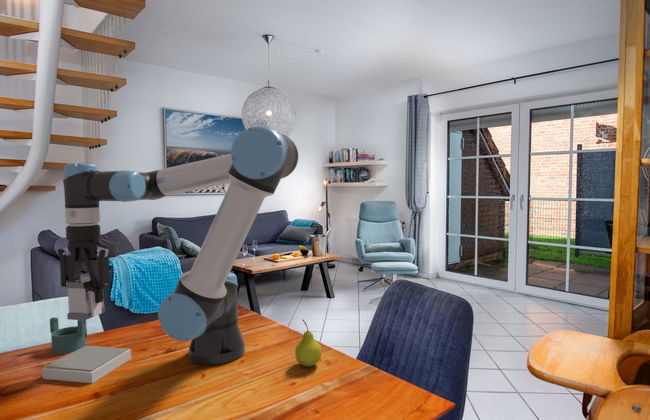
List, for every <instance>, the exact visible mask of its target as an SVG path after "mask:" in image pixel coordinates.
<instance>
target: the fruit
mask: <svg viewBox="0 0 650 420" xmlns="http://www.w3.org/2000/svg"><path fill="white" fill-rule="evenodd" d="M302 322H303V323H304V325H305V327H306V329H307V330H306V331H305V332H304V333H303V336H302V339H301V340H299V342H298V343H297V344H296V347H295V351H294V355H295V359H296V361H297V362H298V363H299V364H300V365H301V366H302V367H304V368H310V367H313V366H315V365H317V364H318V363H319V361H320V360H321V358H322V354H323V353H322V352H323V349H322V346H321V344H320V343H319V342H317V341H316V340H315V337H314V334H313V333H312V331H309V328H308V324H307V323H306V321H305V319H302Z"/></svg>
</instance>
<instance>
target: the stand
mask: <svg viewBox="0 0 650 420" xmlns="http://www.w3.org/2000/svg"><path fill="white" fill-rule="evenodd" d="M131 352H132V349H131V348H125V347H124V348H123V347H112V346H111V347H109V346H100V345H99V346H96V345H86V346H84V347H82V348H80V349H78V350H76V351H74V352H72V353H67V354H66V355H65V356H63V357H61V358H59V359H57V360H54V361H53V362H51V363H49V364H46V365H45V366H44V367H42V368H41V371H42V372H41V373H42V375H41V376H42V379H43V380H44V379H45V380H53V381H61V382H62V381H63V382H71V383H72V382H74V383H84V384H85V383H86V384H94V383H95V382H97V381H99V380H100V379H101V378H103V377H105V376H107V375H108V374H109V373H111V372H112V371H114V370H116V369H117V368H119V367H120V366H122V365H124V364H125V363H127V362H129V360H131V359H132V353H131Z"/></svg>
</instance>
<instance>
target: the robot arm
mask: <svg viewBox="0 0 650 420" xmlns="http://www.w3.org/2000/svg"><path fill="white" fill-rule="evenodd" d="M298 163H299V151H298V148H297V145H296V144H295V142H294V141H293V140H292V139H291V138H290V137H288V136H287V135H285V134H284V133H283V134H282V133H281V132H279V131H278V130H276V129H274V128H270V127H268V126H262V125H261V126H260V125H256V126H255V125H254V126H251V127H249V128H248V127H247V128H246V129H244V130H242V131H241V132H239V134H238V135H237V136H236V137H235V139H234V140H233V143H232V146H231V149H230V153H229V154H223V155H219V156H215V157H211V158H207V159H201V160H198V161H192V162H188V163H184V164H179V165H175V166H170V167H165V168H160V169H157V170H153V171H147V172H140V171H139V172H138V171H133V170H113V171H112V170H111V171H110V170H109V171H107V170H106V171H105V170H104V171H101V170H100V171H99V168H98V165H97V164H95V163H82V162H81V163H77V162H74V163H70V162H69V163H67V164H65V165H64V167H63V179H62V182H63V192H64V193H63V195H64V213H65V215H64V217H65V224H66V225H67V226H66V227H65V239H66V241H68V242H67V243H68V244H67V246H66V247H62V248H58V250H57V253H58V256H59V268H60V269H59V271H60V272H59V274H60V286H61V288H64V287H65V288H66V282H68V281H71V280H74V279H78V278H81V275H82V269H83V264H84V265H85V266H86V267H87V272H88V276H90V279H91V283H92V287H93V289H92V290H91V291H90V298H91V317H92V318H94V317H97V316H99V315H101V314H103V313H102V310H101V302H102V301H103V300H104V289H105V288H108V287H110V286H111V273H110V272H111V271H110V255H111V249H110V248H104V247H101V244H100V239H101V226H100V224H98V223H100V222H101V216H100V215H101V213H100V202H123V203H127V202H129V203H130V202H135V201H142V200H143V201H144V200H147V201H148V200H149V201H156V200H159V199H163V198H164V197H168V196H172V195H177V194H183V193H187V192H191V191H196V190H202V189H207V188H212V187H215V186H216V187H217V186H220V185H221V186H222V185H226V184H229V185H228V188H227V190H226V193H225V195H224V197H223V199H222V201H221V203H220V205H219V208H218V210H217V212H216V214H215V217H214V218H213V221H212V223H211V225H210V227H209V230H208V232H207V234H206V236H205V239H204V240H203V242H202V245H201V247H200V250H199V252H198V253H197V256H196V258H195V260H194V263H193V264H192V267H191V269H190V270H189V271H186V272H183V273H182V274H181V276H180V277H179V280H178V281H177V284H176V286H175V288H174V290H173V292H172V293H171V294H169V295H167V296H166V297H164V299H163V300H162V301H161V303H160V305H159V307H158V311H157V317H158V318H157V319H158V321H159V324H160V325H161V329H162V330H163V332H164V333H165V334H166V335H168V337H170V338H171V339H174V340H176V341H180V342H188V341H190V345H189V347H188V348H189V349H188V359H189V360H190V361H191V362H193V363H195V364H197V365H198V364H199V365H202V366H203V365H204V366H210V365H211V366H214V365H222V364H223V365H224V364H228V363H230V362H234V361H236V360H238V359H239V358H241V357H242V356H244V355H245V352H246V348H245V347H246V344H245V340H244V337H243V335H242V331H241V329H240V327H239V310H238V309H239V308H238V307H239V305H238V304H239V303H238V302H239V301H238V300H239V299H238V287H239V284H238V278H237V275H236V274H235V273H233V272H231V270H232V268H233V266H234V264H235V261H236V260H237V257H238V255H239V253H240V251H241V248H242V247H243V245H244V243H245V240H246V238H247V236H248V234H249V232H250V231H251V227H252V225H253V223H254V221H255V220H256V217H257V215H258V213H259V210H260V208H261V207H262V204H263V203H264V200H265V199H266V198H267V197H269V196H272V195H274V194H275V192H276V190H277V188H278V185H279V184H280V182H281V180H282V179H285V178H287V177H288V176H290V175H291V174H293V172H294V170H295V169H296V168H297V166H298ZM66 289H67V290H68V288H66Z"/></svg>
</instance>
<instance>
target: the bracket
mask: <svg viewBox="0 0 650 420" xmlns="http://www.w3.org/2000/svg"><path fill="white" fill-rule="evenodd" d="M76 322H77V325H76V326H75V325H73V326H67V327H63V328H60V327H59V317H51V318H50V319H49V332H50V333H51V334H50V336H51V338H50V339H51V353H52V354H54V353H56V355H65V354H64V353H66V354H70V353H71V352H74V351H76V350H78V349H80V348H82V347H84V346H87V345H86V339H87V338H88V330H87V320H76Z"/></svg>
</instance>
